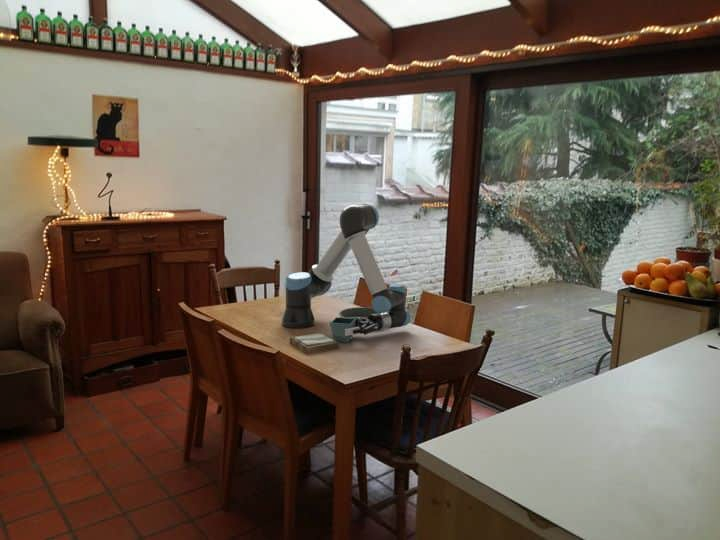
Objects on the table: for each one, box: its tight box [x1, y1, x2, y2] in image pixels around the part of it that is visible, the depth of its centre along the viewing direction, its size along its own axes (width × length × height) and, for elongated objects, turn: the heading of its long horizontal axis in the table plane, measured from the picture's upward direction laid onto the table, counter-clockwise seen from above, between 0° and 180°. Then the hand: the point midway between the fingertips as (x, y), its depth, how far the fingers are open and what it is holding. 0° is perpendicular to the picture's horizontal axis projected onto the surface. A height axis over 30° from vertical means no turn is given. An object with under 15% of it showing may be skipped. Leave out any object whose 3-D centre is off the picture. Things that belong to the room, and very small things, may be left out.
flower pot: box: [330, 316, 356, 343], centre depth 251 cm, size 9×9×9 cm
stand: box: [289, 332, 339, 354], centre depth 244 cm, size 16×14×3 cm
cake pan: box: [338, 306, 377, 329], centre depth 281 cm, size 25×25×4 cm
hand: (336, 328), depth 249 cm, fingers open, 13 cm apart
